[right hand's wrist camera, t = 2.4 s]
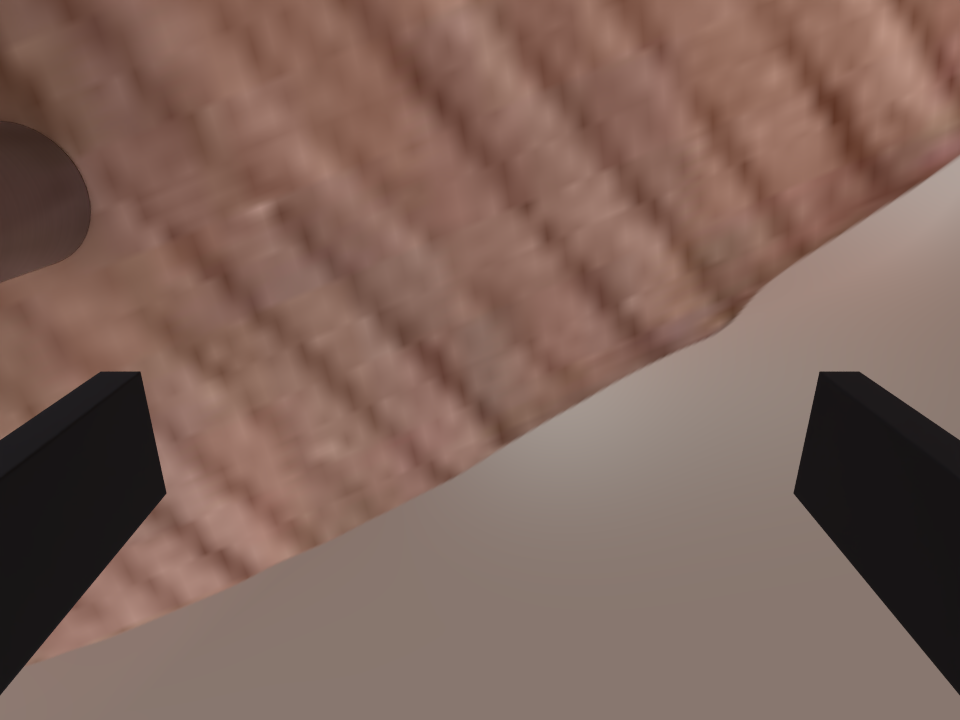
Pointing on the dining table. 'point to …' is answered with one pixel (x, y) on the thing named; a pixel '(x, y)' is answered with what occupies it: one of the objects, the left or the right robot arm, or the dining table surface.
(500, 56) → the dining table surface
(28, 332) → the dining table surface
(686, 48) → the dining table surface
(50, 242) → the jar
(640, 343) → the dining table surface
